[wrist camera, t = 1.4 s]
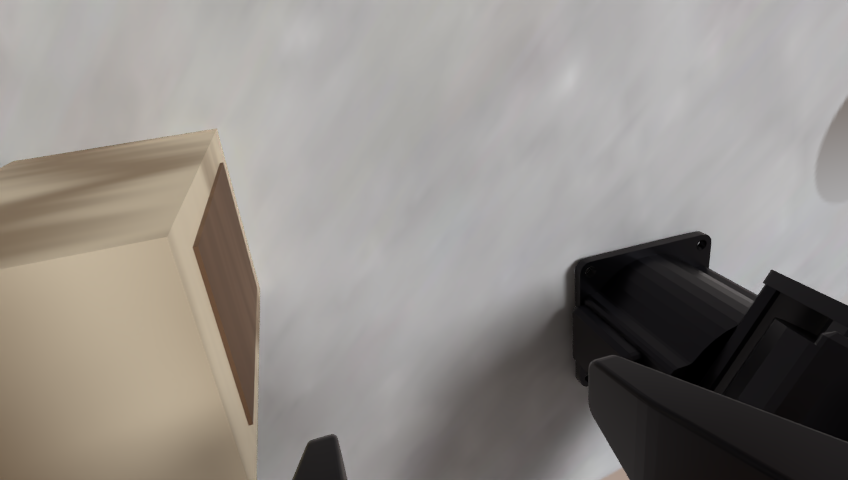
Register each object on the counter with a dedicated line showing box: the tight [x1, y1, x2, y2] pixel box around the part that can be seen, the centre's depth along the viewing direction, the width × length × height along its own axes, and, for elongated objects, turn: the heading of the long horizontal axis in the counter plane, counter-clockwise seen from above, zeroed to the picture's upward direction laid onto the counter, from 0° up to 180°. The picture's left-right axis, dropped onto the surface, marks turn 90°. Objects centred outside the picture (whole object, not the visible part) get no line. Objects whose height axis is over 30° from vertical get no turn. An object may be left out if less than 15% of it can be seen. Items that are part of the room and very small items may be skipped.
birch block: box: [0, 129, 260, 480], centre depth 14 cm, size 6×6×10 cm
